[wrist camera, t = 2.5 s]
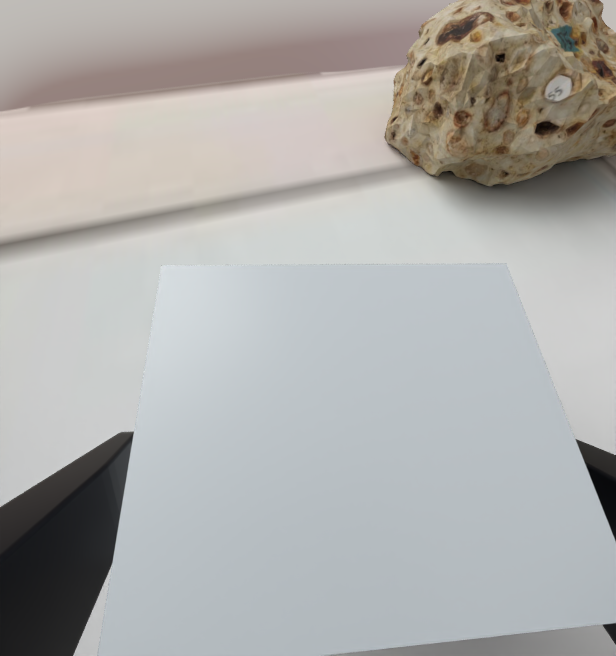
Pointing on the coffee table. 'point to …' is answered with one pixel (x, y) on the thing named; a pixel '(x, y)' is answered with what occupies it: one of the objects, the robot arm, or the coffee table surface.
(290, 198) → the coffee table surface
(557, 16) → the rock
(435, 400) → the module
